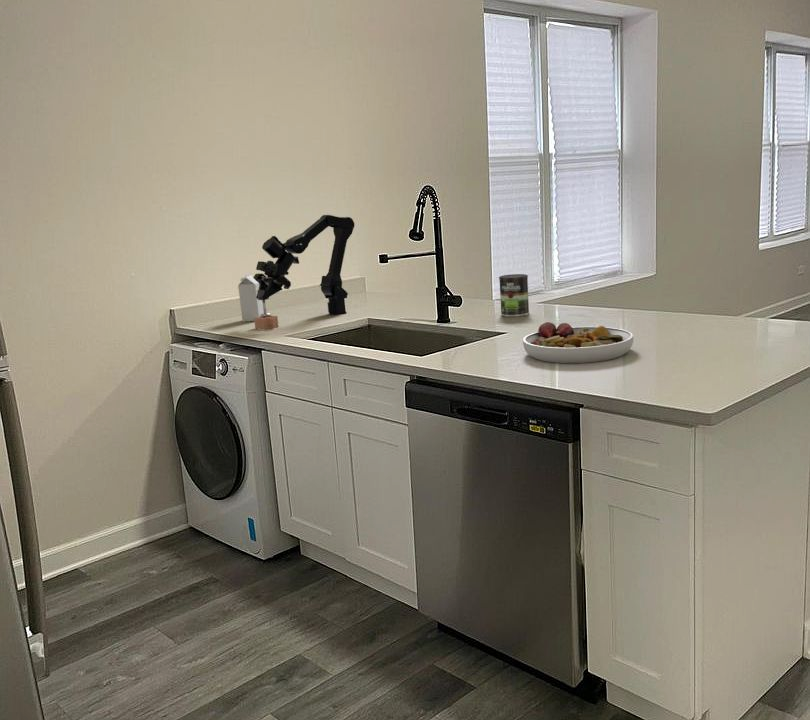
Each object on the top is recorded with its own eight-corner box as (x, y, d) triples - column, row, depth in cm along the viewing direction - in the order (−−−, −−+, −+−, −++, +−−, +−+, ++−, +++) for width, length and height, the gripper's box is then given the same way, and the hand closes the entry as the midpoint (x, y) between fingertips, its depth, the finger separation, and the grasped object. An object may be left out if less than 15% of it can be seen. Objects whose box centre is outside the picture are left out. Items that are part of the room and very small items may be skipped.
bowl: (657, 350, 231) (656, 322, 229) (580, 372, 214) (579, 341, 212) (575, 339, 255) (574, 313, 253) (501, 357, 238) (500, 330, 237)
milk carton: (264, 318, 346) (258, 272, 342) (259, 321, 339) (254, 274, 335) (247, 319, 347) (241, 273, 343) (242, 322, 340) (236, 275, 336)
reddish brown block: (269, 325, 326) (268, 314, 325) (282, 327, 319) (281, 316, 318) (255, 328, 322) (253, 317, 321) (267, 330, 315) (266, 319, 314)
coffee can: (525, 316, 299) (523, 277, 296) (497, 317, 303) (495, 278, 300) (532, 311, 308) (530, 273, 305) (505, 312, 312) (503, 274, 309)
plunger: (267, 314, 323) (264, 288, 321) (272, 314, 320) (269, 289, 318) (258, 315, 321) (255, 290, 319) (263, 316, 318) (260, 290, 316)
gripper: (254, 252, 325) (232, 284, 321) (280, 253, 311) (258, 287, 306) (274, 270, 332) (253, 302, 327) (300, 271, 317) (278, 305, 313)
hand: (260, 298), depth 318 cm, fingers closed on plunger, 4 cm apart
